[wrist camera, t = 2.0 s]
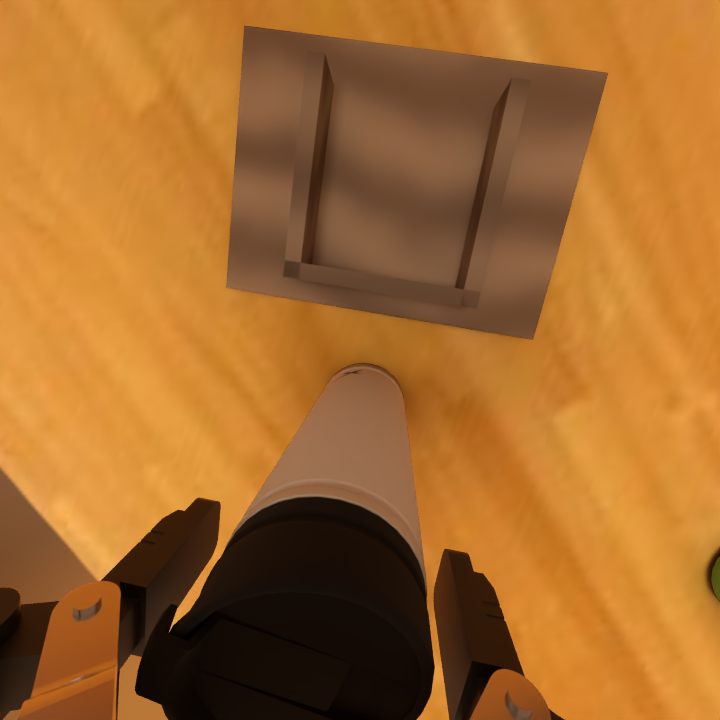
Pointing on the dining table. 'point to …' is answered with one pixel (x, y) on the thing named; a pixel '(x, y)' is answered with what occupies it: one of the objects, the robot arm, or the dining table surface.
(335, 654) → the travel mug
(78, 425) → the dining table surface
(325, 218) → the plate
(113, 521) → the dining table surface
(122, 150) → the dining table surface
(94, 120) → the dining table surface
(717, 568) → the wine bottle
